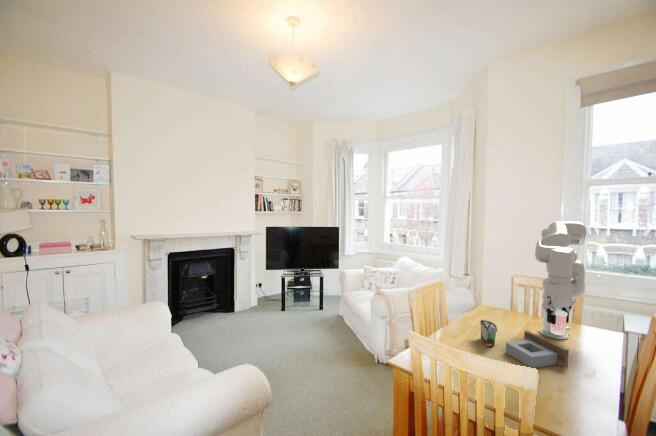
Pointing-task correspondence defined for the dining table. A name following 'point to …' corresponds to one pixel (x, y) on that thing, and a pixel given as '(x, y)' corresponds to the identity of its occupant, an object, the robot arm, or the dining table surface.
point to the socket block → (531, 353)
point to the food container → (488, 333)
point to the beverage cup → (559, 323)
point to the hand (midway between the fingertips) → (557, 321)
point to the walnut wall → (550, 347)
